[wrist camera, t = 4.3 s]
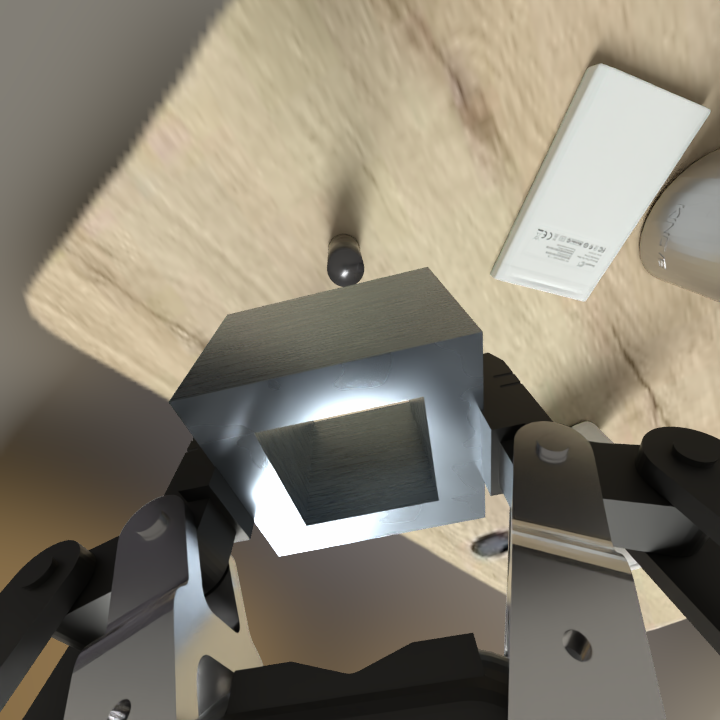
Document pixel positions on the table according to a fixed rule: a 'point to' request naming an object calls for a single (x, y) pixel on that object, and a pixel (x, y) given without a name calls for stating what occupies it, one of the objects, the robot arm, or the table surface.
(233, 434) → the hollow square housing
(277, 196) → the table surface
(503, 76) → the table surface
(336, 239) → the stand rod
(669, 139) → the external hard drive
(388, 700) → the robot arm
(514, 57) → the table surface
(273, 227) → the table surface
